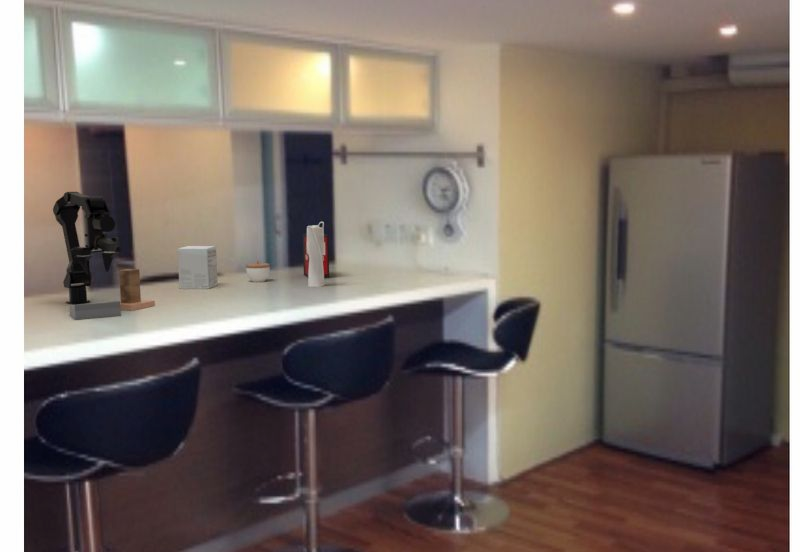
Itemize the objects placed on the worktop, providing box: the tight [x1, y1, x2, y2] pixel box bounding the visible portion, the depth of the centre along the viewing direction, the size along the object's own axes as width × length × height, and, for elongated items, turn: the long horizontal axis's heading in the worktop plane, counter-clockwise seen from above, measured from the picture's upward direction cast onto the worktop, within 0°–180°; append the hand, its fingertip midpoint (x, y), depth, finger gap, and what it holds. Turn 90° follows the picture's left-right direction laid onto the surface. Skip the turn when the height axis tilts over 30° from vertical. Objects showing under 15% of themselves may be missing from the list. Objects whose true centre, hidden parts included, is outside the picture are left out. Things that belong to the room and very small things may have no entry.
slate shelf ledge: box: [69, 300, 122, 321], centre depth 291 cm, size 12×15×5 cm
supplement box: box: [177, 245, 218, 290], centre depth 361 cm, size 13×13×18 cm
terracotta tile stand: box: [119, 299, 156, 312], centre depth 308 cm, size 12×12×2 cm
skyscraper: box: [306, 221, 325, 288], centre depth 359 cm, size 8×8×28 cm
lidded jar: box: [245, 260, 271, 283], centre depth 378 cm, size 11×11×9 cm
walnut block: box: [118, 268, 142, 303], centre depth 307 cm, size 5×5×12 cm
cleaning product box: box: [302, 233, 330, 280], centre depth 392 cm, size 16×9×20 cm, turn 17°
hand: (97, 273), depth 306 cm, fingers open, 9 cm apart
